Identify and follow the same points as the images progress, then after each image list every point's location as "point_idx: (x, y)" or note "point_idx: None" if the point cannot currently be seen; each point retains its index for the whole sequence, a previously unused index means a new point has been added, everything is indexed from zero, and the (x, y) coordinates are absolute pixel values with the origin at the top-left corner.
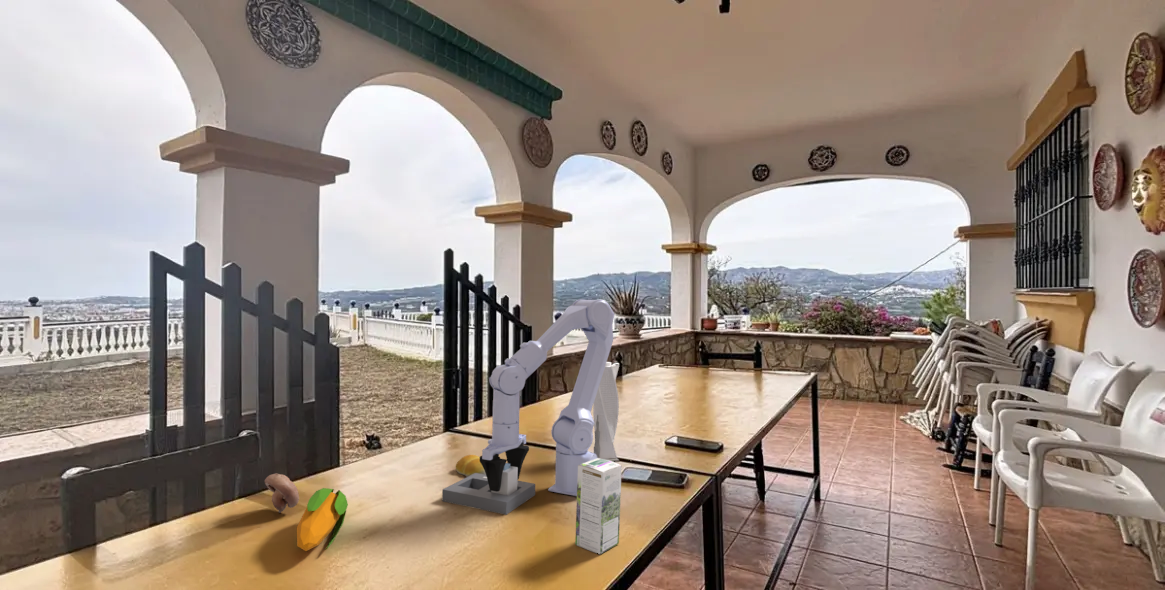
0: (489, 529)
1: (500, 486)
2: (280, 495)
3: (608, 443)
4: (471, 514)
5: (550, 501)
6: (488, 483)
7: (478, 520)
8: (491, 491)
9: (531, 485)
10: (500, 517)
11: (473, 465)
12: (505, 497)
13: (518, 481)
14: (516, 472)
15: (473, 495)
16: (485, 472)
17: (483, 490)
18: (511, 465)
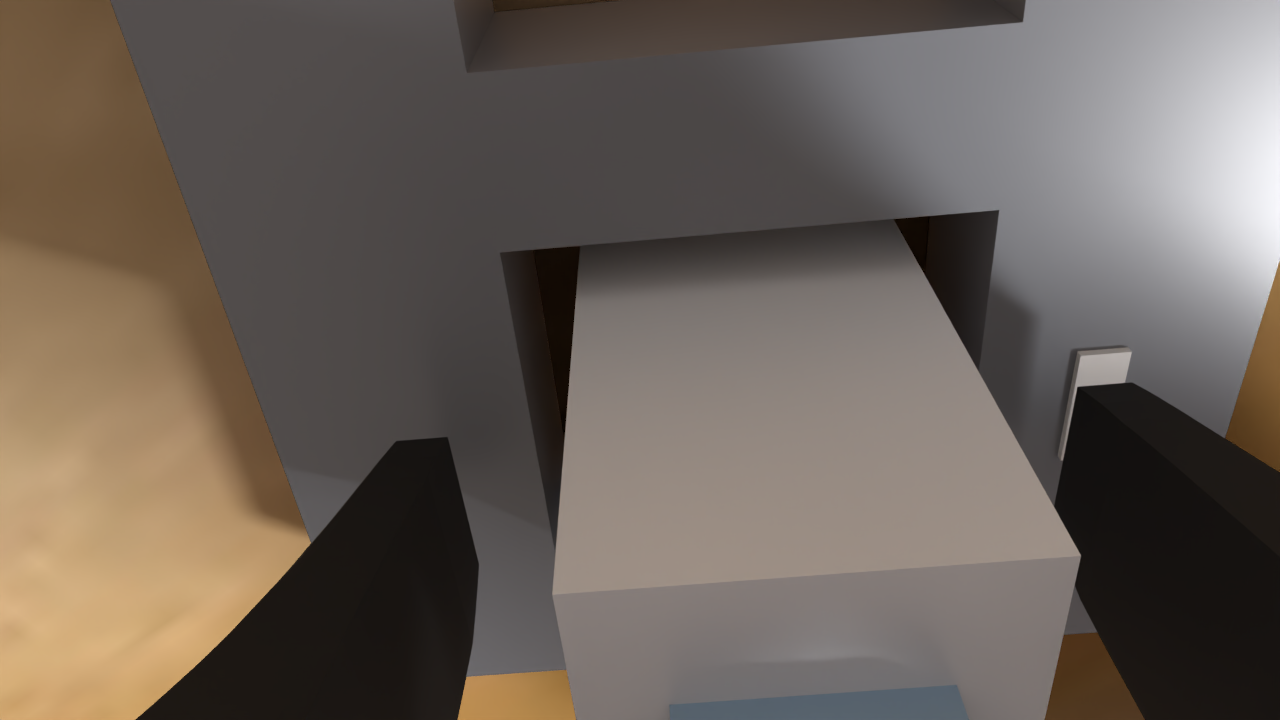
0: (16, 620)
1: (464, 640)
2: None
3: None
4: (87, 247)
5: None
6: (336, 514)
7: (51, 425)
8: (577, 297)
9: (1073, 625)
10: (302, 553)
11: None
12: (479, 604)
13: (1197, 407)
14: None
15: (186, 188)
16: (164, 698)
17: (494, 183)
18: (1224, 626)
